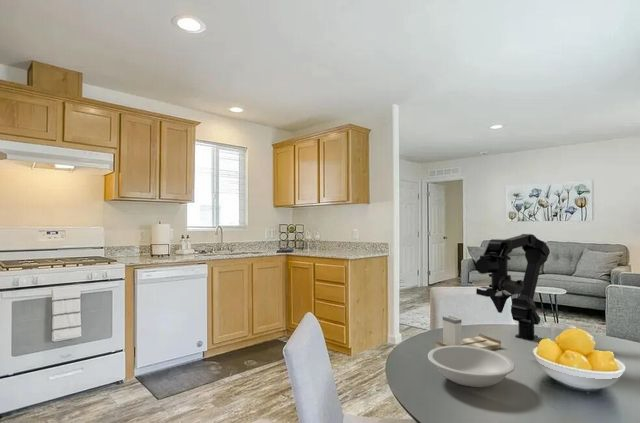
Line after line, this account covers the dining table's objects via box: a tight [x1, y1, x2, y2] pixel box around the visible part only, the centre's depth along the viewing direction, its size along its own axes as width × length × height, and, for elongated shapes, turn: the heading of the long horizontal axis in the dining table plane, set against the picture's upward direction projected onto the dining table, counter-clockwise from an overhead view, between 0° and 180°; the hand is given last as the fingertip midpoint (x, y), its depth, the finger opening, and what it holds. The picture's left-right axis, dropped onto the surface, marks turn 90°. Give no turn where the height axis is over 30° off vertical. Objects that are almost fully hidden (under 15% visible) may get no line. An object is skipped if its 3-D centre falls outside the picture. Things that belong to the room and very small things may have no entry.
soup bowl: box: [427, 346, 516, 388], centre depth 112 cm, size 24×24×7 cm
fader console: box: [435, 333, 502, 351], centre depth 141 cm, size 22×10×2 cm, turn 113°
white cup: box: [549, 322, 577, 341], centre depth 134 cm, size 8×8×10 cm
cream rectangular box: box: [442, 315, 463, 346], centre depth 138 cm, size 3×6×10 cm, turn 23°
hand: (500, 312), depth 146 cm, fingers closed
